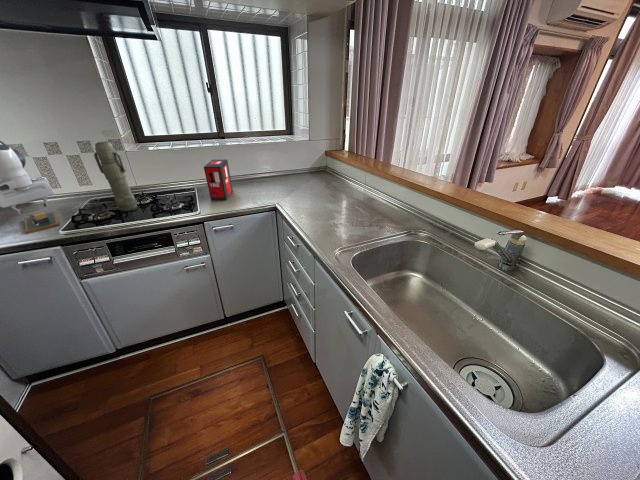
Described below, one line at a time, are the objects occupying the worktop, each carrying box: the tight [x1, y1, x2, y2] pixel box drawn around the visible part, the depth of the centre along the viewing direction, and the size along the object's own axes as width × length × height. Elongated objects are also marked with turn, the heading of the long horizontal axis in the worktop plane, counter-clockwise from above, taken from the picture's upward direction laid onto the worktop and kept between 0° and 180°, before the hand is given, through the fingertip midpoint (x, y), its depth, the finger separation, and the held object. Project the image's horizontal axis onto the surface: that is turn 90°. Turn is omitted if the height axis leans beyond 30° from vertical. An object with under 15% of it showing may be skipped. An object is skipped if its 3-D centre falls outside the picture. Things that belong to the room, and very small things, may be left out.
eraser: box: [28, 210, 49, 223], centre depth 131 cm, size 6×4×4 cm, turn 64°
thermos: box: [93, 141, 138, 212], centre depth 140 cm, size 9×12×35 cm
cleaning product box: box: [203, 158, 234, 202], centre depth 160 cm, size 16×9×20 cm, turn 3°
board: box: [23, 211, 61, 235], centre depth 132 cm, size 20×12×1 cm, turn 45°
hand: (33, 209), depth 129 cm, fingers open, 8 cm apart
